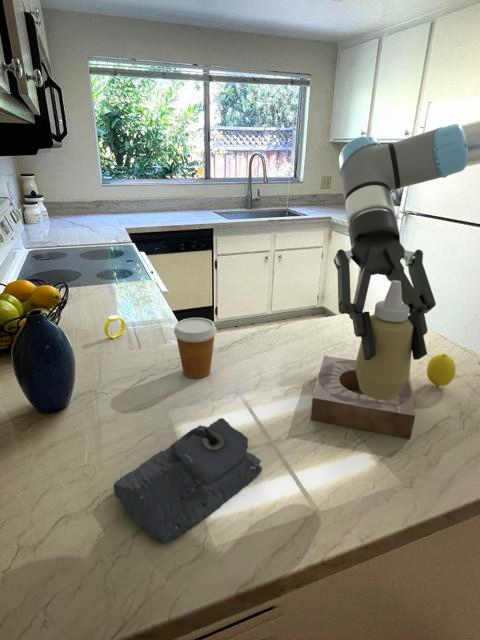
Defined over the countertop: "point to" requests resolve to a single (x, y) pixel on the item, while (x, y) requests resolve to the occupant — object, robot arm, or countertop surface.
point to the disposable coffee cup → (195, 346)
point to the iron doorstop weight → (188, 480)
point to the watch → (110, 319)
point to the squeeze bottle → (387, 348)
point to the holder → (359, 402)
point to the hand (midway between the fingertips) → (395, 356)
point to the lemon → (441, 370)
